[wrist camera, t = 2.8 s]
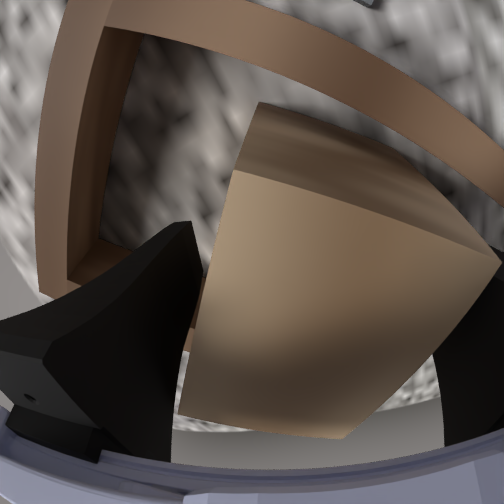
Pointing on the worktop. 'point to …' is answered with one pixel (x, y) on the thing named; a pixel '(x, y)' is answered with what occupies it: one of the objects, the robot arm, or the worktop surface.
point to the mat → (365, 2)
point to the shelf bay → (222, 41)
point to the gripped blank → (325, 281)
